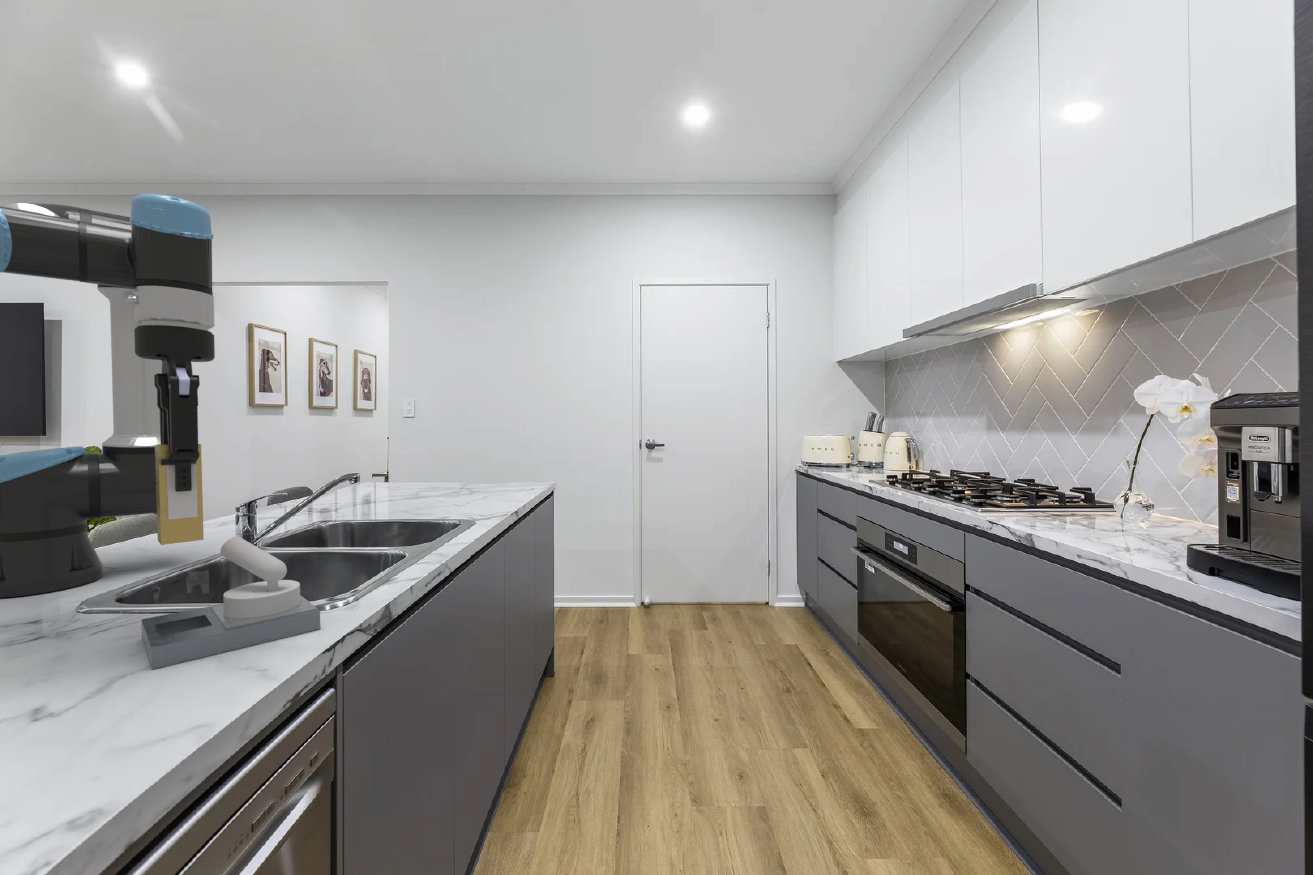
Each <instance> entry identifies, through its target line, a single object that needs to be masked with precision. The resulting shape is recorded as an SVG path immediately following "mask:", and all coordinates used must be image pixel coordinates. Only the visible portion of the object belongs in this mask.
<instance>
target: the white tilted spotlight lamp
mask: <svg viewBox="0 0 1313 875" xmlns="http://www.w3.org/2000/svg"><path fill="white" fill-rule="evenodd" d="M219 551H220V552H219V553H220V555H221V556H222V557H224V558H225V559H227V560H229V561H231V562H232V563H233V564H235V565H237V566H239V567H241V568H242V569H244V570H245V571H247V572H249V573H251V574H253V575H255V576H256V577H258V578H259V579H261V580H262V581H258V582H257V581H256V582H253V583H251V582H250V583H246V584H242V585H240V586H239V585H238V586H237V587H233V588H230V589H228V590H226V591H224V593H223V596H222V597H223V604H224V615H225V616H227V617H231V618H252V617H260V616H266V615H272V614H276V613H280V612H283V611H286V610H289V609H292V608H294V607H296V606H297V605H299V604H300V595H301V583H300V581H297V580H292V579H284V578H285V577H286V575H287V572H288V569H287V565H286V563H284V561H282V560H280V559H279V558H277V557H275V556H273V555H272V554H270V553H268V552H267V551H265V550H263V549H261V548H260V547H258V546H256V545H254V544H252V543H251V542H249V541H247V540H246V539H244V538H242V537H240V536H234V537H230V538H228V540H226V541H225V542H224V543H223V544H222V546H221V548H220V549H219Z"/></svg>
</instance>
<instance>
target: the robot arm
mask: <svg viewBox="0 0 1313 875" xmlns="http://www.w3.org/2000/svg"><path fill="white" fill-rule="evenodd" d="M130 206H131V207H130V210H131V211H130V216H125V215H120V214H115V213H107V212H105V211H104V212H103V211H99V210H98V211H97V210H93V209H86V208H81V207H77V206H72V205H67V204H56V203H38V202H37V203H36V202H35V203H34V202H29V203H28V202H27V203H25V202H14V203H13V202H12V203H7V204H4V205H0V273H3V274H11V275H12V274H13V275H19V276H20V275H21V276H30V277H31V276H32V277H39V278H40V277H41V278H46V279H56V280H65V281H66V280H67V281H73V282H79V283H87V284H94V285H97V291H98V292H99V293H100V294H102V295H103V296H104V297H105V298H107V300H108V301H109V310H110V314H109V316H110V349H111V385H112V386H111V387H112V388H111V390H112V392H111V393H112V418H113V419H112V420H113V421H112V423H113V425H112V426H113V428H112V429H113V432H112V435H111V436H110V437H108V438H107V439H105V441H103V442H102V444H101V447H102V448H101V450H102V451H101V453H87V450H86V449H85V448H84V446H81V445H78V446H68V447H57V448H56V447H55V448H47V449H37V450H31V451H30V450H29V451H21V452H15V453H6V454H1V455H0V599H1V598H2V599H3V598H15V597H21V596H23V597H24V596H30V595H31V596H32V595H37V594H38V595H39V594H44V593H50V592H55V591H60V590H65V589H71V588H75V587H78V586H83V585H86V584H89V583H92V582H95V581H97V580H100V579H101V578H102V577H103V563H102V561H101V559H100V557H99V555H98V553H97V551H96V549H95V548H94V546H93V544H92V542H91V540H90V538H89V535H88V520H93V519H94V520H95V519H105V518H107V519H109V518H115V517H116V518H117V517H126V516H138V515H149V514H150V515H152V514H153V515H157V500H156V466H155V444H168V453H169V457H168V459H167V460H161V465H167V498H168V519H169V520H170V519H180V518H190V517H198V510H197V471H196V461H197V459H198V458H199V456H200V453H199V452H198V444H199V420H198V419H199V413H198V407H199V396H198V394H199V393H198V392H199V391H198V390H199V387H200V386H201V385H200V384H201V383H200V376H199V375H198V374H193V364H192V363H207V362H211V361H214V360H215V357H216V356H215V354H216V353H215V334H213V332H211V331H210V329H213V328H215V297H214V291H213V239H214V234H213V233H212V222H211V220H212V219H211V216H210V214H209V211H207V210H206V208H204V207H203V206H201V205H200V204H198V203H196V202H193V201H190V200H187V199H184V198H180V197H175V196H171V195H166V194H158V193H157V194H156V193H142V194H139V195H135V196H134V197H133V199H132V200H131V204H130Z"/></svg>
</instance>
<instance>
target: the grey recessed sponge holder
mask: <svg viewBox="0 0 1313 875" xmlns="http://www.w3.org/2000/svg"><path fill="white" fill-rule="evenodd" d="M140 620H141V621H140V622H141V639H142V644H143V646H144V648H145V652H146V655H147V659H148V662H149V664H150V667H151V670H156V669H160V668H165V667H168V666H173V665H178V664H181V663H185V662H189V661H194V660H198V659H203V658H205V657H210V656H215V655H218V654H219V655H220V654H223V653H227V652H230V651H235V650H239V649H243V648H248V647H252V646H256V645H260V644H264V643H268V642H272V641H276V640H280V639H284V638H288V637H293V636H298V635H301V634H306V633H310V632H314V631H319V630H321V610H319V608H318V607H317V606H315V605H314V604H313V603H311V602H310V601H309V600H307V599H306V598H305V597H304V596H302V595H301V594H300V604H299V605H297V606H296V607H294V608H292V609H289V610H286V611H283V612H280V613H276V614H272V615H266V616H260V617H252V618H231V617H227V616H225V615H224V603H222V604H215V605H209V606H205V607H200V608H199V607H198V608H194V609H190V610H184V611H179V612H174V613H168V614H163V615H159V616H154V617H147V618H142V619H140Z"/></svg>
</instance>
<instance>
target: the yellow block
mask: <svg viewBox="0 0 1313 875" xmlns="http://www.w3.org/2000/svg"><path fill="white" fill-rule="evenodd" d="M198 452H199V453H200V456H199V458H198V459H197V461H196V471H197V510H198V517H190V518H180V519H170V520H169V519H168V498H167V465H161V460H167V459H168V457H169V453H168V444H155V466H156V500H157V514H156V528H157V529H156V531H157V533H156V535H157V541H158V543H159V544H160V545H161V546H164V545H172V544H173V545H174V544H180V543H190V542H197V541H204V540H205V539H204V538H205V537H204V536H205V535H204V506H203V505H204V504H203V503H204V501H203V499H204V498H203V472H202V471H203V466H202V463H203V462H202V444H201V443H198Z"/></svg>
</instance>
